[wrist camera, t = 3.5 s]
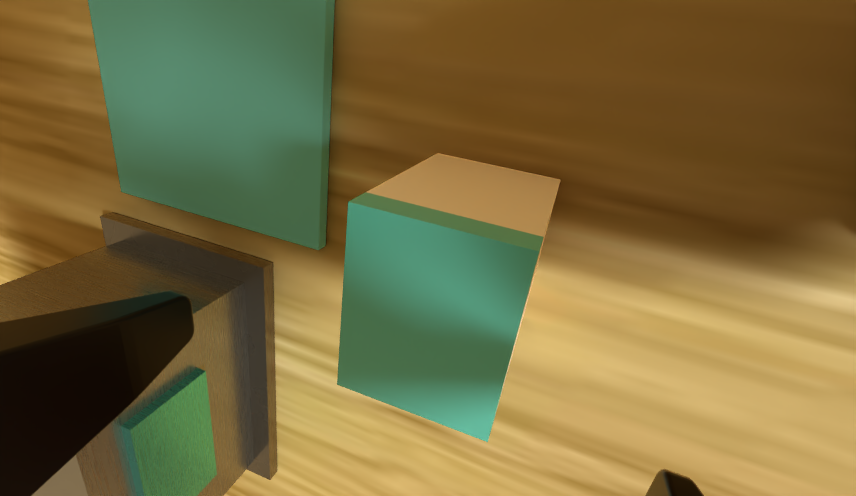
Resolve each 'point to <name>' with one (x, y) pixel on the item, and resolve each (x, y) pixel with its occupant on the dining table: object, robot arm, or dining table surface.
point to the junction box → (172, 364)
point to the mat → (222, 107)
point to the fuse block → (441, 286)
